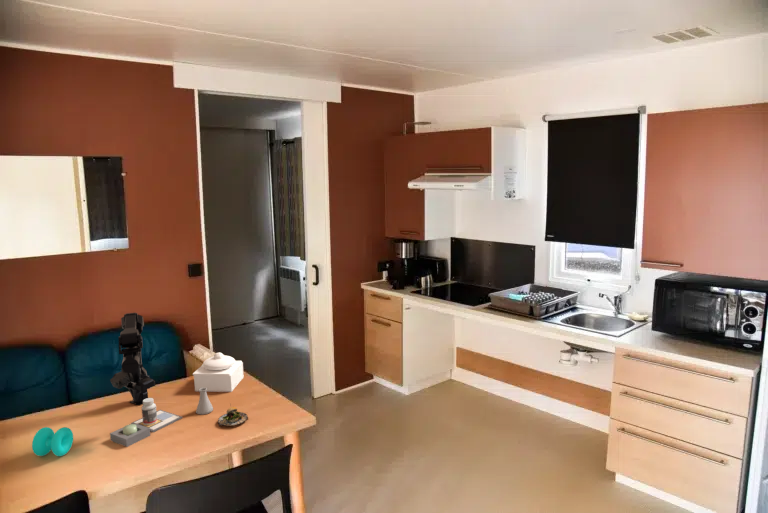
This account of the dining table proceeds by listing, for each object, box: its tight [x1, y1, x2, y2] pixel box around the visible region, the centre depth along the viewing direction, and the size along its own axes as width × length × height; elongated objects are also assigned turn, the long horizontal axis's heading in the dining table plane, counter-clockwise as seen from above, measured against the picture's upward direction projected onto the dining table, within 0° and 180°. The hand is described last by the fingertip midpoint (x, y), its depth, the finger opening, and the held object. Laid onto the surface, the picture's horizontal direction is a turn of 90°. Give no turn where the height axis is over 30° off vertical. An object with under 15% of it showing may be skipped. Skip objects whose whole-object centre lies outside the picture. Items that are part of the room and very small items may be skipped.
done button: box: [122, 423, 137, 436], centre depth 205 cm, size 5×5×4 cm
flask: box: [195, 388, 214, 415], centre depth 227 cm, size 7×7×10 cm
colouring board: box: [131, 409, 183, 433], centre depth 219 cm, size 14×14×1 cm
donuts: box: [31, 426, 74, 457], centre depth 194 cm, size 10×10×10 cm
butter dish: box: [192, 352, 245, 393], centre depth 255 cm, size 18×18×16 cm
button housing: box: [109, 421, 151, 448], centre depth 205 cm, size 10×10×3 cm
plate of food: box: [217, 403, 249, 428], centre depth 217 cm, size 12×12×8 cm
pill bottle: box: [141, 397, 157, 425], centre depth 216 cm, size 5×5×10 cm
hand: (135, 400), depth 211 cm, fingers closed
